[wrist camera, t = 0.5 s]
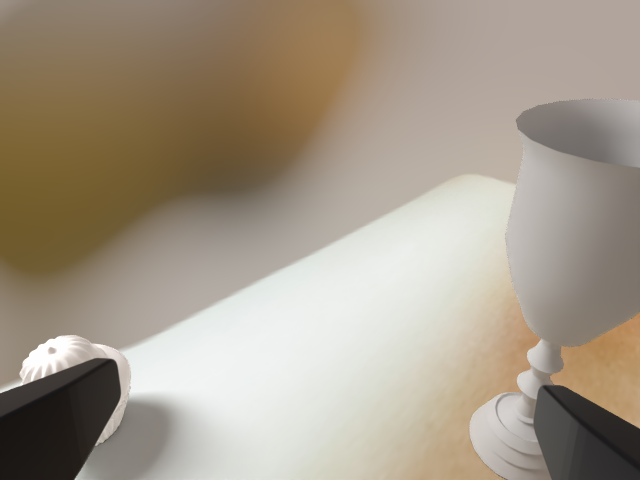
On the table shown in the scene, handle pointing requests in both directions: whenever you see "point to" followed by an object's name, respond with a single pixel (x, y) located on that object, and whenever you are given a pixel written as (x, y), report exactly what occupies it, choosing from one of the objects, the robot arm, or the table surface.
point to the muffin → (72, 353)
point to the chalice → (566, 256)
